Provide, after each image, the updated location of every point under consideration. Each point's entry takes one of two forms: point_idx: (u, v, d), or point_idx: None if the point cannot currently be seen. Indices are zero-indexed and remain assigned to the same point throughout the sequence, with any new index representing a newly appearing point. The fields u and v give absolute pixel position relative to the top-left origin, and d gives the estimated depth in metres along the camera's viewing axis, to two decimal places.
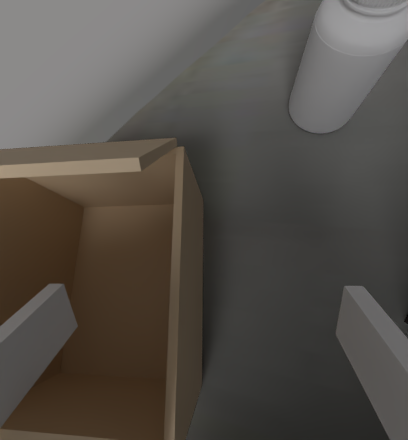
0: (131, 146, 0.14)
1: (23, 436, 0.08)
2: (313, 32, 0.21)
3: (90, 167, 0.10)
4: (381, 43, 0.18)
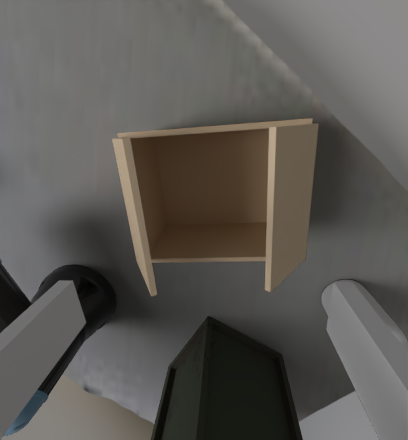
0: (291, 257, 0.25)
1: (150, 266, 0.22)
2: None
3: (268, 271, 0.22)
4: None
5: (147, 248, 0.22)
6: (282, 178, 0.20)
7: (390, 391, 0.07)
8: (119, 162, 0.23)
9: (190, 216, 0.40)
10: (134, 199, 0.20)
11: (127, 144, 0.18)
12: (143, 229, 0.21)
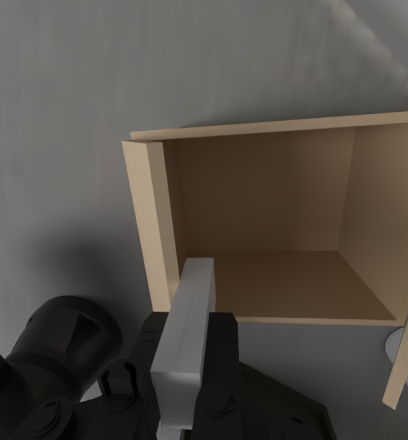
0: None
1: None
2: None
3: (397, 378, 0.12)
4: None
5: None
6: None
7: None
8: (134, 181, 0.14)
9: (220, 241, 0.30)
10: (165, 260, 0.10)
11: (156, 155, 0.09)
12: None
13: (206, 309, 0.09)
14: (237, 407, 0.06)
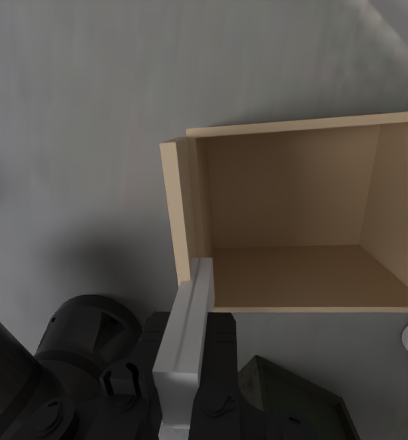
0: None
1: None
2: None
3: None
4: None
5: None
6: None
7: None
8: None
9: (245, 237, 0.31)
10: (176, 257, 0.10)
11: (169, 155, 0.09)
12: None
13: (204, 309, 0.09)
14: (235, 407, 0.06)
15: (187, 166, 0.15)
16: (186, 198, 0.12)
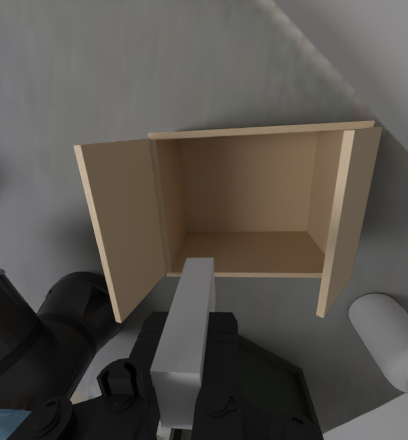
0: (343, 276, 0.22)
1: (112, 291, 0.19)
2: None
3: (323, 294, 0.19)
4: (390, 375, 0.31)
5: (108, 271, 0.19)
6: (349, 190, 0.17)
7: None
8: None
9: (212, 223, 0.37)
10: (91, 215, 0.17)
11: (78, 152, 0.16)
12: (102, 250, 0.18)
13: (206, 309, 0.09)
14: (237, 407, 0.06)
15: (139, 160, 0.21)
16: (114, 181, 0.18)
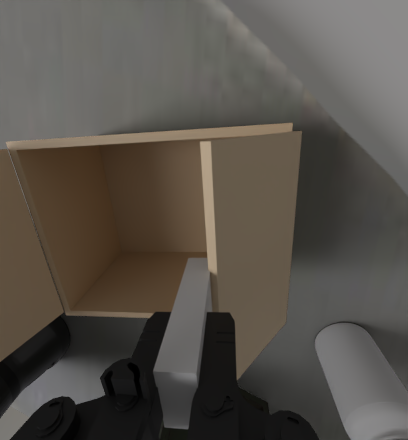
0: (261, 331, 0.16)
1: None
2: (386, 397, 0.24)
3: None
4: (350, 433, 0.25)
5: None
6: (233, 228, 0.11)
7: None
8: None
9: (149, 241, 0.32)
10: None
11: None
12: None
13: (203, 309, 0.09)
14: (234, 407, 0.06)
15: None
16: None
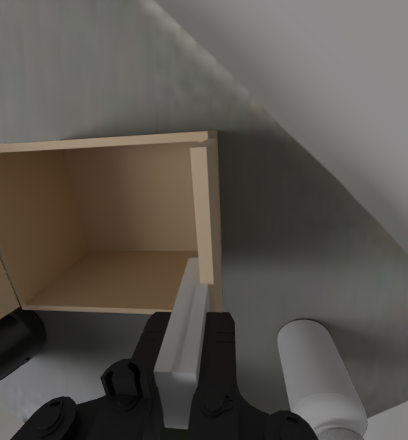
0: None
1: None
2: (329, 388, 0.26)
3: None
4: None
5: None
6: (213, 235, 0.11)
7: None
8: None
9: (115, 241, 0.33)
10: None
11: None
12: None
13: (203, 309, 0.09)
14: (233, 407, 0.06)
15: None
16: None
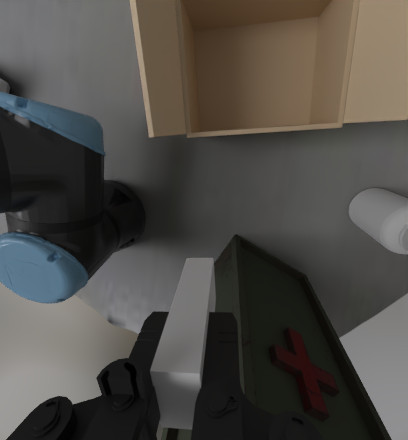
0: None
1: (147, 101, 0.24)
2: None
3: None
4: (385, 235, 0.35)
5: (144, 80, 0.23)
6: None
7: None
8: None
9: (224, 120, 0.41)
10: (133, 20, 0.21)
11: None
12: (141, 56, 0.22)
13: (206, 309, 0.09)
14: (237, 407, 0.06)
15: (167, 4, 0.25)
16: (150, 3, 0.23)
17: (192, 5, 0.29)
